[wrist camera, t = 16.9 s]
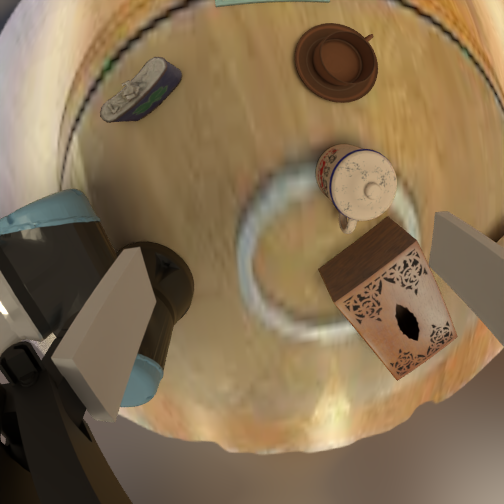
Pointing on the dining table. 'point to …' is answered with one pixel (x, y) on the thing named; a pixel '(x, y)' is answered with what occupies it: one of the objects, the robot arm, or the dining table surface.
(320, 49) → the cup and saucer
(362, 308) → the tissue box cover
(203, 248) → the dining table surface
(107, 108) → the flask
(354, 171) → the teacup with lid
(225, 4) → the mat
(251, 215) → the dining table surface
